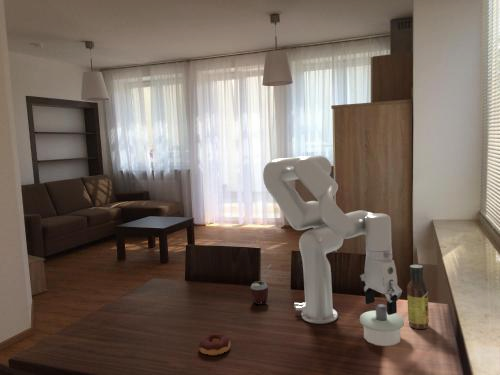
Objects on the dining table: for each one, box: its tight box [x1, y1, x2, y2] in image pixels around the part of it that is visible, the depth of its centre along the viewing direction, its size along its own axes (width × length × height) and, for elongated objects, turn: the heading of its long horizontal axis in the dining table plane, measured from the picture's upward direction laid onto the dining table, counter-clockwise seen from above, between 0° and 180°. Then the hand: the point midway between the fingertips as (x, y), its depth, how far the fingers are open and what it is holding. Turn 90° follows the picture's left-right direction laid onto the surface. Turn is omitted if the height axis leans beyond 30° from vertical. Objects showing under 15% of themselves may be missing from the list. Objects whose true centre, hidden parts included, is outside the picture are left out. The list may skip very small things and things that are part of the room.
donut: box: [198, 332, 232, 356], centre depth 127 cm, size 10×10×4 cm
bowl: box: [363, 326, 401, 347], centre depth 127 cm, size 11×11×5 cm
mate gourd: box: [249, 264, 272, 305], centre depth 162 cm, size 8×8×15 cm
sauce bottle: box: [406, 264, 430, 330], centre depth 133 cm, size 7×6×20 cm
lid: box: [359, 304, 405, 331], centre depth 127 cm, size 13×13×5 cm
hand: (380, 308), depth 127 cm, fingers open, 9 cm apart
